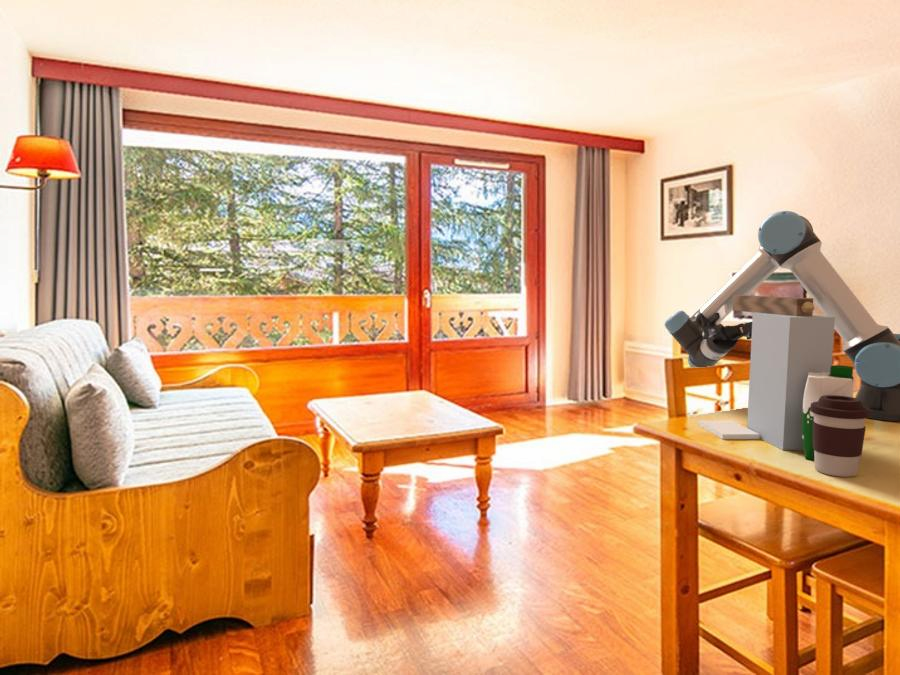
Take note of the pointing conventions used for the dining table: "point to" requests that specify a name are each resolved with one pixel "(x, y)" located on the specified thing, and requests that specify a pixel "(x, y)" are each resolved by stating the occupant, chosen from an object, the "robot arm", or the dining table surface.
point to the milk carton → (819, 386)
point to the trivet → (728, 430)
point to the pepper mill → (774, 305)
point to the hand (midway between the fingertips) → (752, 309)
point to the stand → (785, 373)
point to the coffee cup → (838, 434)
